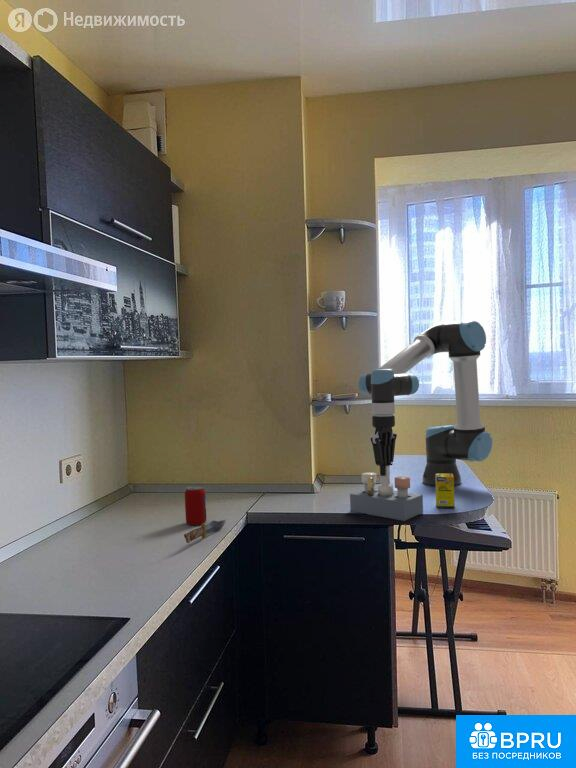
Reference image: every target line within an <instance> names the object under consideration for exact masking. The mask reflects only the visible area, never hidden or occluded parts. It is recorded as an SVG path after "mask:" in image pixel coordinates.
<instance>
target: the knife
mask: <svg viewBox="0 0 576 768" xmlns="http://www.w3.org/2000/svg"><path fill="white" fill-rule="evenodd" d="M226 521H227V518H225V519H222V520H219V521H217V520H212V521H210V522H208V523H206V524H205V523H202V524H201V525H200V527H196V528H194V529H192V530H191V531H189V532H187V533H184V535H183V537H184V539H185V543H187V544H190V543H191V542H193V541H195V540H197V539H198V538H200V537H201V539H202V540H204V539H205V538H206V536H207V535H209V534H211V533H217V532H220V531H221V530H222V529H223V527H224V526H225V523H226Z"/></svg>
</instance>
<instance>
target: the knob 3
mask: <svg viewBox="0 0 576 768" xmlns="http://www.w3.org/2000/svg"><path fill="white" fill-rule="evenodd" d="M394 488H395V489H397V490H396V491H397V496H398V498H402V499H406V498H408V493H409V489H410V488H411V478H410V477H409V476H396V477H394Z"/></svg>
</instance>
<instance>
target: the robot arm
mask: <svg viewBox="0 0 576 768" xmlns="http://www.w3.org/2000/svg"><path fill="white" fill-rule="evenodd" d="M486 344H487V335H486V331H485V329H484V327H483V326H482V325H481V323H480V322H478V321H476V320H458V321H448V322H444V321H443V322H439V323H437V324H434V325H432V326H430V327H429V328H427V329H425V330H424V331H422V332H421V333H419V334H418V335H416V336H415V338H414V340H413V342H412V343H410V344H409V345H408V346H406V347H405V348H404V349H403V350H401V351H400V352H398V353H397V354H396V355H394V356H392V358H390V359H389V360H388V361H387V362H386V363H384V364H382V365H381V366H380V367H378V368H377V369H373V370H371V372H370V373H364V374H362V375H361V376H360V377H359V378H358V379H359V380H358V383H357V384H358V388H359V390H360V392H361V393H362V394H365V395H370V396H371V413H372V417H371V423H372V424H371V426H372V428H374V429H375V430H374V436H373V437H370V442H371V444H372V451H373V456H374V460H375V465H376V466H379V477H380V484H381V485H386V486H388V485H390V484H391V478H390V477H391V476H390V473H391V472H390V469H391V468H390V466H393V462H394V457H395V448H396V440H397V438H398V434H397V433H394V432H393V427H396V417H395V415H394V414H395V413H396V411H395V409H396V408H395V397H400V396H410V395H414V394H416V393H417V392H418V390H419V388H420V381H419V379H418V377H417V375H415V374H414V373H409V371H410V370H411V369H414V367H415V366H417V365H418V364H419V363H420V362H422V361H423V360H424V359H426V358H431V357H432V356H433V355H435V354H439V353H448V358H449V359H450V360H451V361H452V362H453V363H452V365H453V378H454V393H455V409H456V412H455V413H456V423H455V424H453V425H452V424H448V425H440V426H439V425H438V426H431V427H428V428H427V429H426V431H425V450H426V451H425V454H426V455H425V457H426V464H425V467H424V471H423V475H422V483H423V484H425V485H427V486H428V485H429V486H433V487H436V480H435V474H453V476H454V486H457V485H460V484H461V483H462V477H461V474H460V470H459V468H458V466H457V460H459V461H460V460H461V461H469V462H470V463H471V462H472V463H473V462H479V463H480V462H483V461H485V460H486V459H487V458H489V455H490V454H491V452H492V448H493V438H492V435H491V433H490V432H488V431H486V427H485V424H483V422H481V414H480V413H481V412H480V411H481V409H480V396H479V379H478V364H477V360H478V359H479V357H480V356H481V351H483V350H484V349H485V347H486Z"/></svg>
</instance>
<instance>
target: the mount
mask: <svg viewBox="0 0 576 768" xmlns="http://www.w3.org/2000/svg"><path fill="white" fill-rule="evenodd" d="M374 488H375V493H374V496H368V493H365V488H362V489H360V490H357V491H354V492H351V493H349V502H350V504H349V505H350V512H353V513H358V512H361V513H360V514H364V513H366V514H365V515H369V516H376V517H382V518H386V519H387V518H388V519H393V520H397V521H402V522H405V521H407V520H409V519H410V520H411V519H412V518H414V517H416V516H418V515H421V514H422V513H423V512H424V501H423V499H424V496H423V494H421V493H413V492H408V498H406V499H402V498H398V496H397V490H394V489H393V495H391V496H381V495H378V487H374Z"/></svg>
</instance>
